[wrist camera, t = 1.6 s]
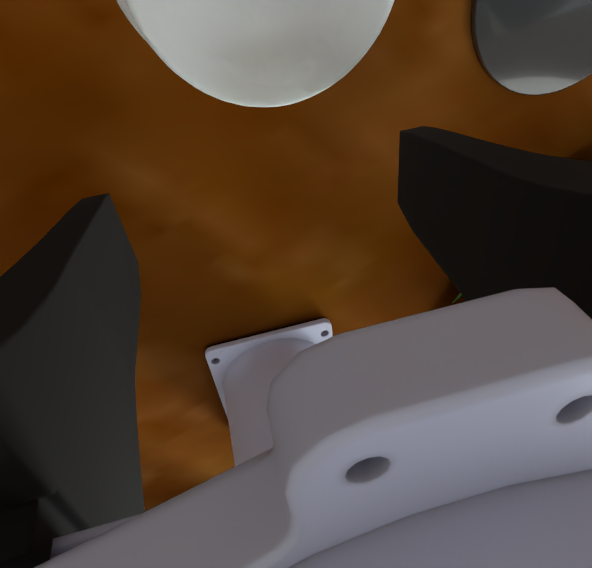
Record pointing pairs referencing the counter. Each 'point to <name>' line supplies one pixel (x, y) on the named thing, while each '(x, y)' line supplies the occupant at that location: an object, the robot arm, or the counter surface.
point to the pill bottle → (259, 43)
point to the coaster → (533, 42)
